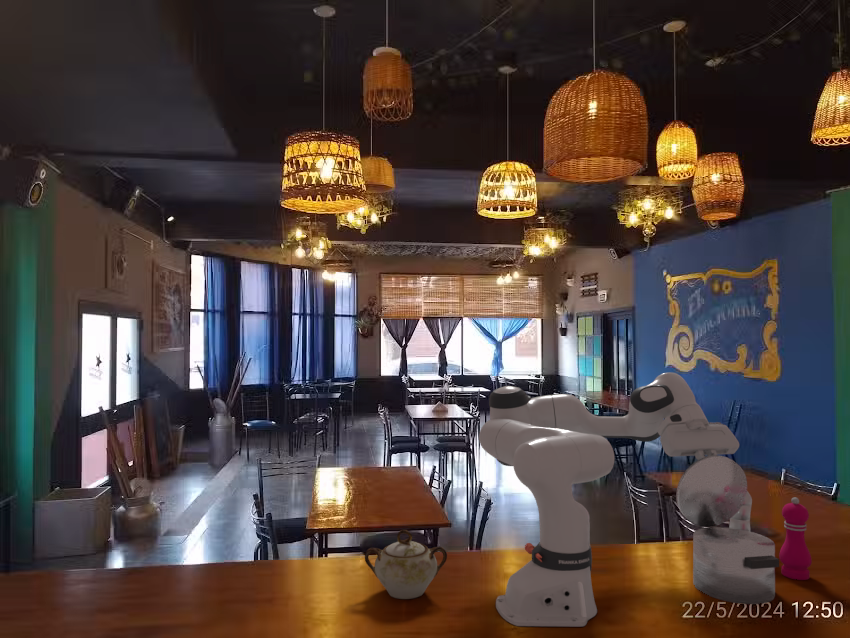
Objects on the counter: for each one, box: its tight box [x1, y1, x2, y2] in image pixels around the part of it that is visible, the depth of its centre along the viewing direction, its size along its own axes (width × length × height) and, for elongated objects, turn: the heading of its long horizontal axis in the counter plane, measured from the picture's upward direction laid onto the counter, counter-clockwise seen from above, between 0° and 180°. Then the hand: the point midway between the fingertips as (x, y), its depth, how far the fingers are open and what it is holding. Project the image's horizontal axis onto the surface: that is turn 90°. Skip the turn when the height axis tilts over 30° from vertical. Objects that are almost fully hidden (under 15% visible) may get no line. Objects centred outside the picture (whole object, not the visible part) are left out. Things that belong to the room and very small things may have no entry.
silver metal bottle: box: [728, 490, 753, 532], centre depth 186 cm, size 6×7×20 cm
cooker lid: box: [675, 454, 748, 528], centre depth 168 cm, size 19×19×3 cm
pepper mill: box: [778, 497, 813, 581], centre depth 168 cm, size 7×7×20 cm
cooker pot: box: [692, 526, 780, 605], centre depth 159 cm, size 18×22×12 cm
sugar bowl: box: [364, 529, 448, 600], centre depth 156 cm, size 20×15×15 cm
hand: (712, 467), depth 168 cm, fingers closed, pressing on cooker lid
